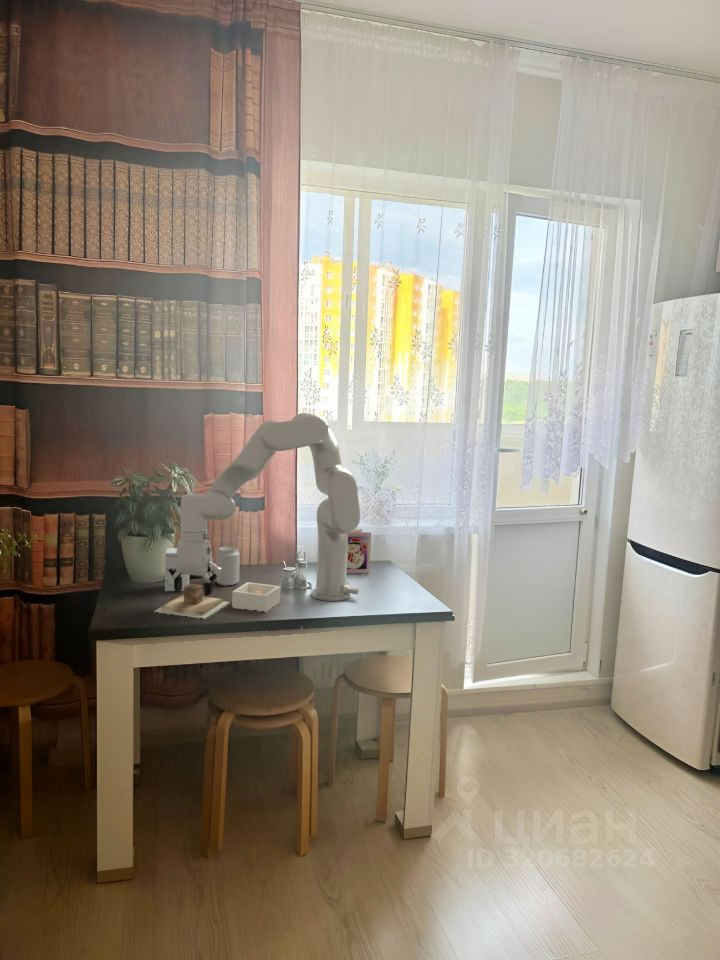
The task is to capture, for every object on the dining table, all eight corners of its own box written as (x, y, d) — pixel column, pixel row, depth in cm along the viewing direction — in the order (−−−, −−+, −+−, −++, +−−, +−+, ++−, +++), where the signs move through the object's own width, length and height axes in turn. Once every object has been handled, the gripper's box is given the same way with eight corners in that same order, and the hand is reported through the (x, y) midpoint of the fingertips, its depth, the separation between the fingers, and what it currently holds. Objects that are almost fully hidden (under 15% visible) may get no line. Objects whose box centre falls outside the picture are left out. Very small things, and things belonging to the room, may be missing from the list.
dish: (280, 601, 226) (280, 586, 225) (266, 612, 216) (266, 595, 215) (247, 597, 229) (247, 582, 228) (232, 607, 218) (232, 591, 218)
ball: (264, 601, 223) (264, 589, 223) (259, 604, 220) (260, 592, 219) (253, 599, 224) (253, 588, 224) (248, 603, 221) (248, 591, 220)
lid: (222, 602, 221) (223, 583, 220) (202, 615, 209) (203, 594, 208) (183, 597, 224) (184, 578, 224) (162, 610, 212) (162, 589, 211)
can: (236, 587, 240) (237, 551, 239) (214, 585, 240) (214, 550, 239) (240, 580, 248) (241, 546, 246) (218, 579, 248) (219, 545, 246)
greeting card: (338, 573, 262) (340, 532, 260) (335, 568, 270) (337, 528, 268) (369, 573, 265) (371, 533, 263) (365, 568, 272) (367, 528, 270)
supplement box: (164, 591, 231) (164, 552, 230) (166, 585, 239) (166, 547, 237) (188, 591, 233) (188, 553, 231) (189, 585, 240) (190, 547, 238)
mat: (229, 603, 222) (229, 602, 222) (204, 619, 207) (204, 617, 207) (181, 597, 226) (181, 596, 226) (154, 612, 211) (154, 610, 211)
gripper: (226, 536, 215) (225, 593, 218) (173, 531, 220) (173, 586, 222) (215, 541, 208) (214, 599, 210) (160, 535, 212) (160, 593, 215)
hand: (193, 593), depth 216 cm, fingers open, 9 cm apart
